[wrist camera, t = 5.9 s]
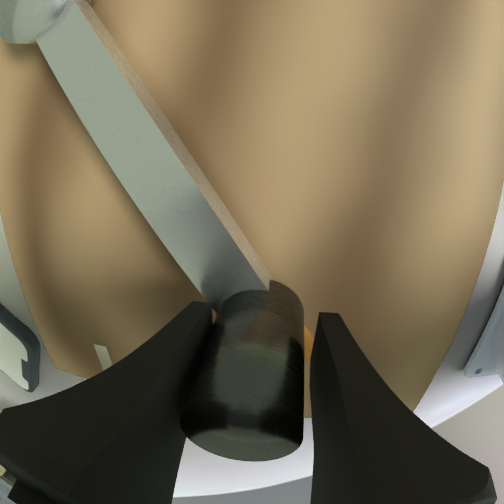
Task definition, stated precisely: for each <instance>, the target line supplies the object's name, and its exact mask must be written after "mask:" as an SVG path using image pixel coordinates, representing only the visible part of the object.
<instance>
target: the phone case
mask: <svg viewBox="0 0 504 504" xmlns="http://www.w3.org/2000/svg"><path fill="white" fill-rule="evenodd" d="M39 358H40V344H39V341H38V339H37V338H36V336H35V335H34V333H33V332H32V331H31V330H30V329H29V328H28V327H26V326H25V325H24V324H23V323H22V322H21V321H19V320H18V319H17V318H16V317H15V316H14V315H12V314H11V313H10V312H9V311H8V310H7V309H6V308H5V307H4V306H2V305H1V304H0V369H1V370H2V371H3V372H4V373H6V374H7V375H8V376H9V377H10V378H11V379H12V380H13V381H15V382H16V383H17V384H18V385H19V386H20V387H22V388H23V389H24V390H26V391H28V392H33V391H34V390H35V389H36V387H37V386H38V384H39Z"/></svg>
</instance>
